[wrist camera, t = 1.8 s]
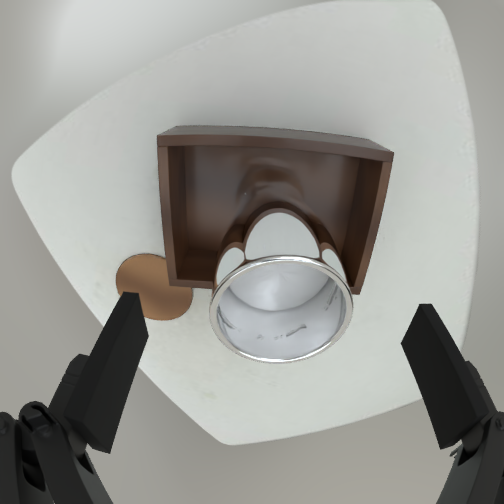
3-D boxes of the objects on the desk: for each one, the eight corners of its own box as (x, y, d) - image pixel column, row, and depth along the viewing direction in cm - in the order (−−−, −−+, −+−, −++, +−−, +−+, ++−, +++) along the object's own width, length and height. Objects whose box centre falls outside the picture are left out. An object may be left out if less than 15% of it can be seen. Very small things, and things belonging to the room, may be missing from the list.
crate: (176, 126, 23) (156, 135, 18) (369, 139, 23) (394, 152, 19) (181, 254, 29) (169, 286, 25) (345, 262, 30) (359, 294, 25)
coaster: (110, 251, 30) (108, 253, 29) (189, 256, 30) (189, 258, 29) (125, 314, 34) (124, 316, 34) (195, 321, 34) (194, 323, 34)
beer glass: (307, 158, 24) (365, 245, 11) (310, 231, 28) (349, 359, 15) (225, 165, 25) (188, 260, 12) (236, 238, 28) (219, 369, 15)
